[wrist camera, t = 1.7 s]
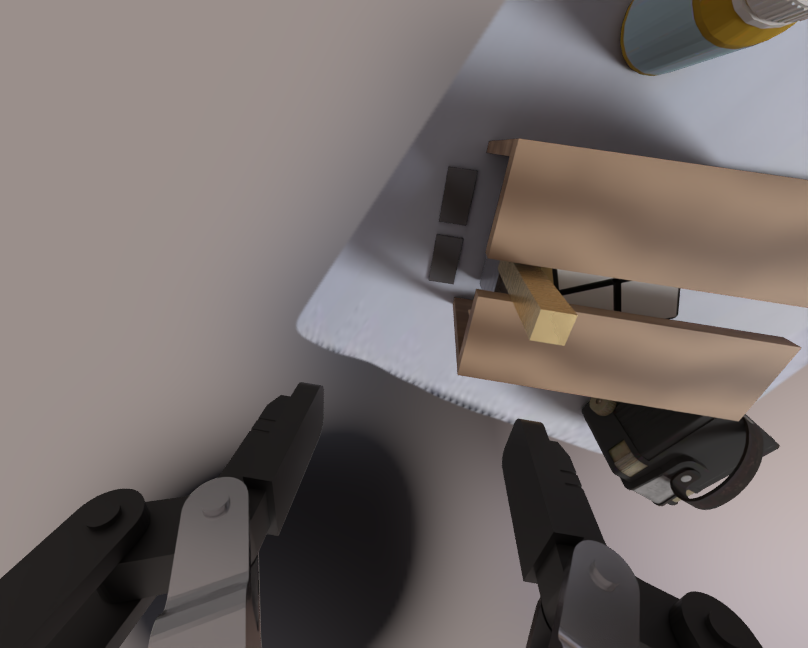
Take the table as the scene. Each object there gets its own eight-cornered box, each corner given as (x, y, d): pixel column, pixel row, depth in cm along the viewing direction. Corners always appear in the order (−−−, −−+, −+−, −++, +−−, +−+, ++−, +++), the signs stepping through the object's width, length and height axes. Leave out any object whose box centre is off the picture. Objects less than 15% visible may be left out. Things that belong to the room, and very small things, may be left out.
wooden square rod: (502, 183, 34) (571, 226, 16) (522, 186, 34) (613, 232, 16) (477, 282, 39) (507, 399, 21) (494, 285, 39) (538, 404, 21)
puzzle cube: (625, 188, 33) (690, 203, 25) (625, 278, 38) (680, 319, 29) (523, 216, 36) (549, 239, 27) (534, 298, 40) (560, 341, 31)
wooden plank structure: (453, 136, 33) (461, 130, 20) (884, 198, 31) (1183, 234, 19) (425, 299, 41) (417, 368, 29) (761, 353, 40) (909, 449, 27)
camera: (567, 407, 47) (616, 508, 34) (650, 338, 41) (748, 430, 28) (624, 440, 49) (690, 548, 36) (711, 379, 43) (830, 483, 30)
